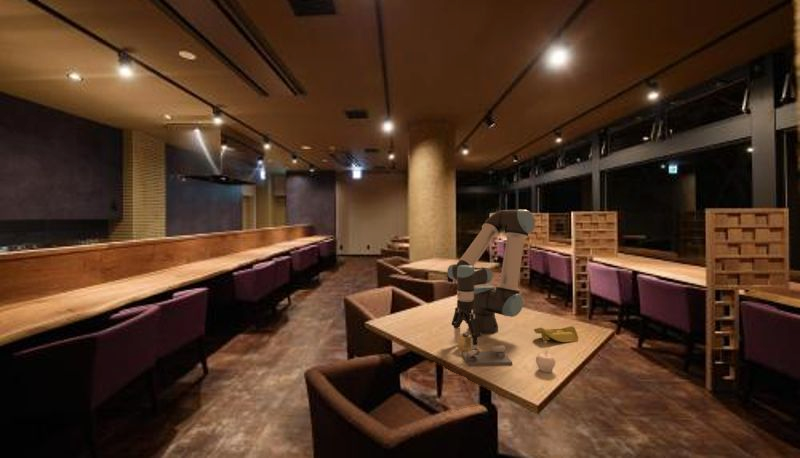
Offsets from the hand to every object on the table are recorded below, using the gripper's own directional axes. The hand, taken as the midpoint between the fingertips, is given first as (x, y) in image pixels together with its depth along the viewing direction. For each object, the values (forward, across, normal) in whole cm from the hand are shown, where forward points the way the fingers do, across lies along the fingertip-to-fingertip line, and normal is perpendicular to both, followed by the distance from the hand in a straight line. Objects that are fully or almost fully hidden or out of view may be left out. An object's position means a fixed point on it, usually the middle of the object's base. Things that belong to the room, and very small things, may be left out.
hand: (465, 346), depth 164 cm
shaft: (0, +14, -5) cm, 14 cm away
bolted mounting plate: (+1, +13, +2) cm, 13 cm away
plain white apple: (+2, +31, +16) cm, 35 cm away
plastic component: (+1, +5, +48) cm, 48 cm away
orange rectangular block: (+1, 0, 0) cm, 1 cm away
